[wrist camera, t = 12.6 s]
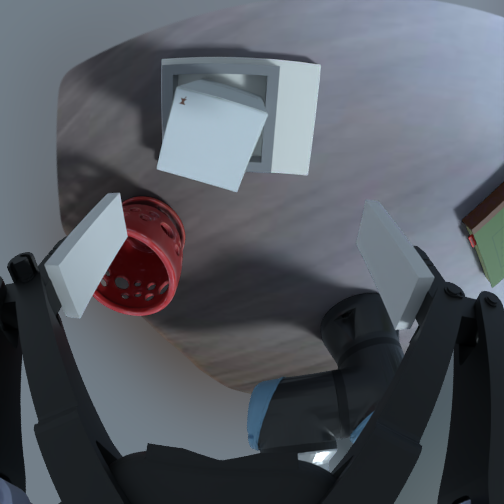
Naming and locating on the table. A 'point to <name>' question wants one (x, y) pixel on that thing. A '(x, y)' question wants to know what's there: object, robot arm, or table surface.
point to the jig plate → (274, 98)
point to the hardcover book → (489, 234)
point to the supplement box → (211, 133)
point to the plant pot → (145, 258)
